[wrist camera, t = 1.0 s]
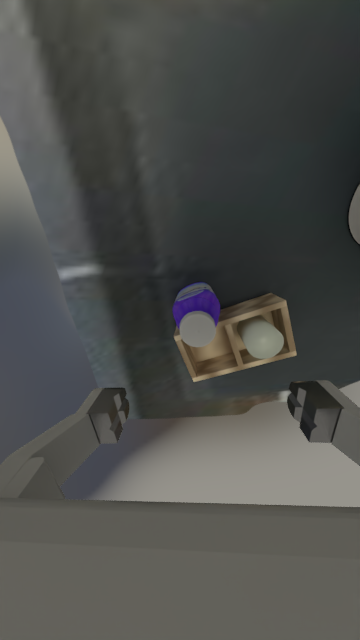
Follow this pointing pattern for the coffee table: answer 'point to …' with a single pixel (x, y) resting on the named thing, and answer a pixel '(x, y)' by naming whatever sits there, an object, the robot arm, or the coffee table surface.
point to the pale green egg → (260, 337)
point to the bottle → (196, 314)
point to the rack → (237, 339)
